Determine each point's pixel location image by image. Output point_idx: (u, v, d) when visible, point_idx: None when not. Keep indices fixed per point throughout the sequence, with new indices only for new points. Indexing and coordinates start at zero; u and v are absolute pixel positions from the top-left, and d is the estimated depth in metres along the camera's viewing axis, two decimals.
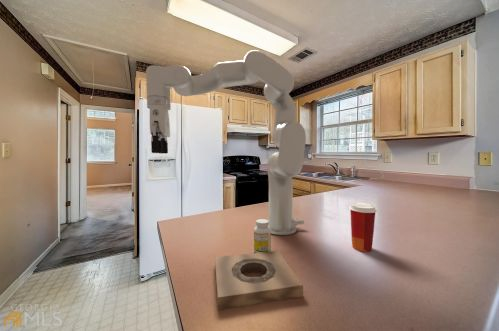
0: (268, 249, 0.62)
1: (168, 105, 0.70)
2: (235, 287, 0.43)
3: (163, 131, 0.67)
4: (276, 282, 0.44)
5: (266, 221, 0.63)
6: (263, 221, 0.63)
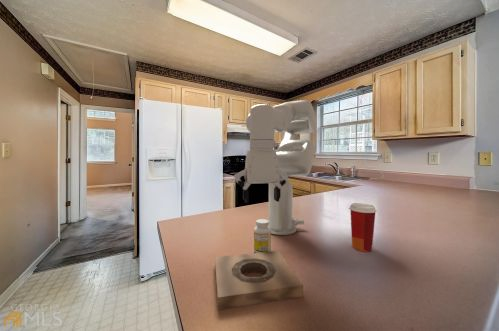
0: (268, 249, 0.62)
1: None
2: (235, 287, 0.43)
3: None
4: (276, 282, 0.44)
5: (266, 221, 0.63)
6: (263, 221, 0.63)
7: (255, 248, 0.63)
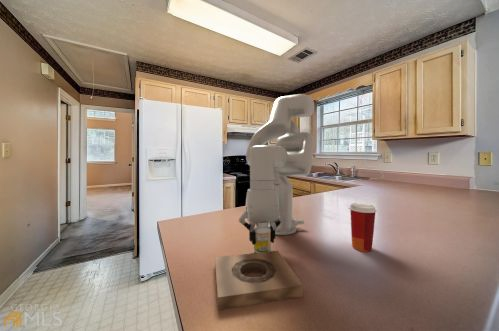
0: (268, 249, 0.62)
1: None
2: (235, 287, 0.43)
3: None
4: (276, 282, 0.44)
5: None
6: None
7: (255, 248, 0.63)
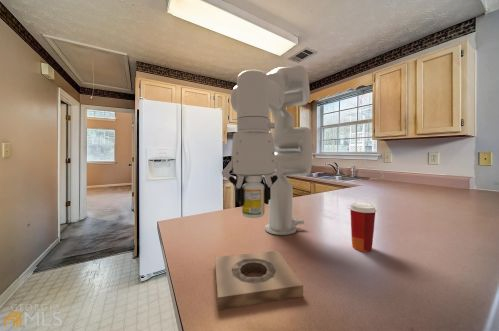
0: (261, 211, 0.46)
1: None
2: (235, 287, 0.43)
3: None
4: (276, 282, 0.44)
5: (258, 175, 0.48)
6: None
7: (243, 210, 0.47)
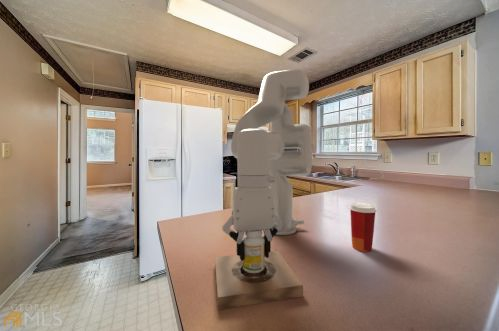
0: (261, 266, 0.47)
1: None
2: (235, 287, 0.43)
3: None
4: (276, 282, 0.44)
5: None
6: None
7: (244, 265, 0.48)
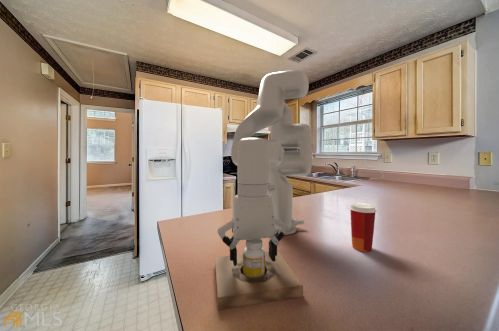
0: None
1: None
2: (235, 287, 0.43)
3: None
4: (276, 282, 0.44)
5: (259, 241, 0.49)
6: (255, 241, 0.49)
7: None
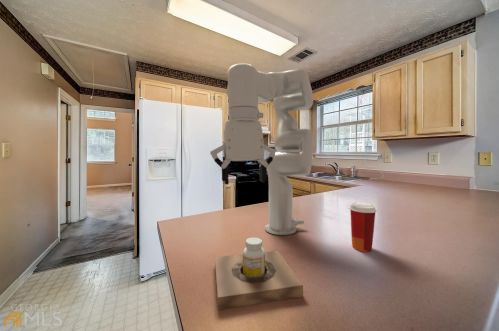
0: None
1: None
2: (235, 287, 0.43)
3: None
4: (276, 282, 0.44)
5: (259, 241, 0.49)
6: (255, 241, 0.49)
7: None
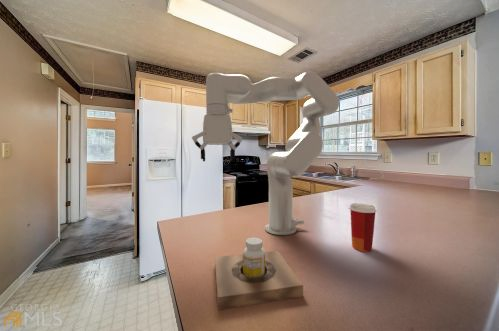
0: None
1: None
2: (235, 287, 0.43)
3: None
4: (276, 282, 0.44)
5: (259, 241, 0.49)
6: (255, 241, 0.49)
7: None
